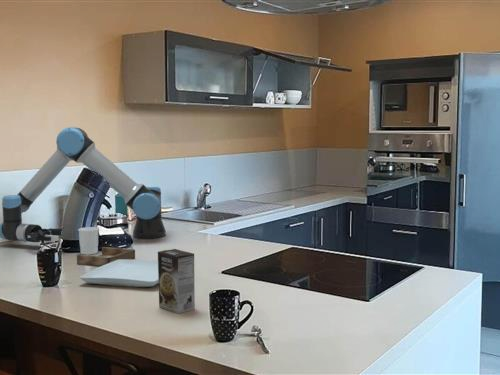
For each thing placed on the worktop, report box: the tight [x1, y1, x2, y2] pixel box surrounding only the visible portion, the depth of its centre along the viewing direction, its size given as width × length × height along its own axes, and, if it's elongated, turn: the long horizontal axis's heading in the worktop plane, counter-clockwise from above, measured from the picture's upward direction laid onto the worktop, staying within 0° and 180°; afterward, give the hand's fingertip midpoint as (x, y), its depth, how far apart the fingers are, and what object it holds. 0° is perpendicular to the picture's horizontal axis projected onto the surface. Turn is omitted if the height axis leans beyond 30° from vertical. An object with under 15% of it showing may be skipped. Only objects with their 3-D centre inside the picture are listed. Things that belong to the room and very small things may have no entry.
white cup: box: [77, 226, 99, 256], centre depth 243 cm, size 8×8×10 cm
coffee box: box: [157, 248, 196, 315], centre depth 167 cm, size 9×6×16 cm
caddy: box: [76, 246, 136, 267], centre depth 228 cm, size 15×16×4 cm
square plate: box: [78, 259, 159, 288], centre depth 202 cm, size 27×27×4 cm
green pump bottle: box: [114, 193, 129, 218], centre depth 310 cm, size 6×7×20 cm
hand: (69, 236), depth 246 cm, fingers open, 13 cm apart
